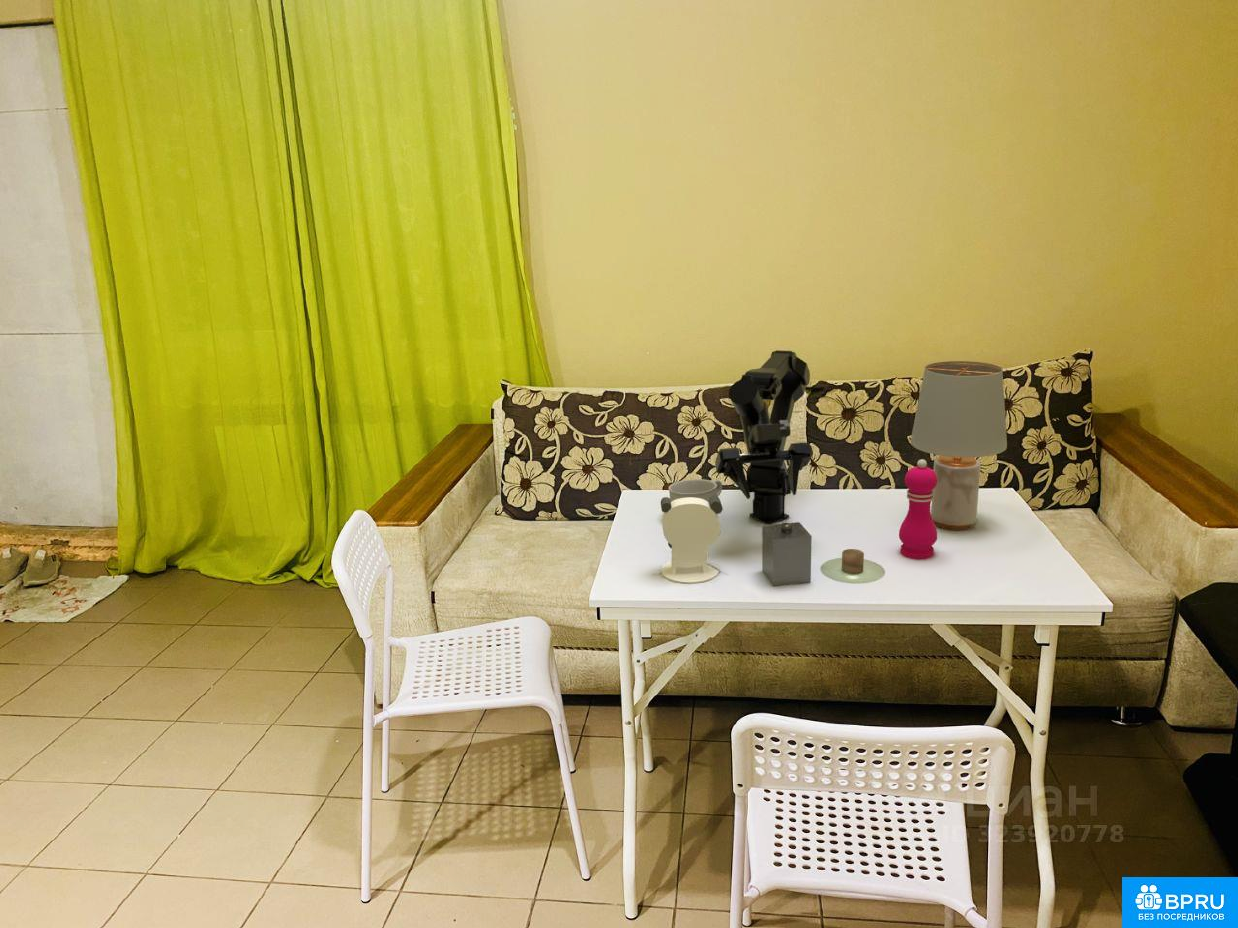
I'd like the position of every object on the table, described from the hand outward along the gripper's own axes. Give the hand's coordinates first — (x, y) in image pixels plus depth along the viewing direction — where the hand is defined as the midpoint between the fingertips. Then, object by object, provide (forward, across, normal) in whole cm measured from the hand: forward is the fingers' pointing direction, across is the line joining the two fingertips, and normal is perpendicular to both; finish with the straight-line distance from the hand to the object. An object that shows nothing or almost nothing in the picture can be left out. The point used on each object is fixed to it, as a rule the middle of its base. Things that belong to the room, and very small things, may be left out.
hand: (771, 495), depth 181 cm
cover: (+16, 0, +3) cm, 16 cm away
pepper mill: (+12, +29, +7) cm, 32 cm away
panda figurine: (+11, -16, +9) cm, 22 cm away
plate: (+16, +13, +3) cm, 21 cm away
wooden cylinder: (+16, +13, +3) cm, 21 cm away
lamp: (+2, +43, +17) cm, 46 cm away
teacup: (-10, -9, +29) cm, 32 cm away
